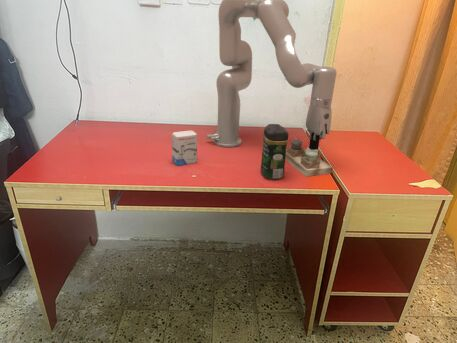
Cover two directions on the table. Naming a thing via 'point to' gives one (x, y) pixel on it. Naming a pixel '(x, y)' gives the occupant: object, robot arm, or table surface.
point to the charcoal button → (296, 144)
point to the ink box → (184, 147)
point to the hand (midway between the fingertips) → (313, 148)
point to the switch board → (307, 163)
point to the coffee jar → (274, 151)
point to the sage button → (311, 155)
